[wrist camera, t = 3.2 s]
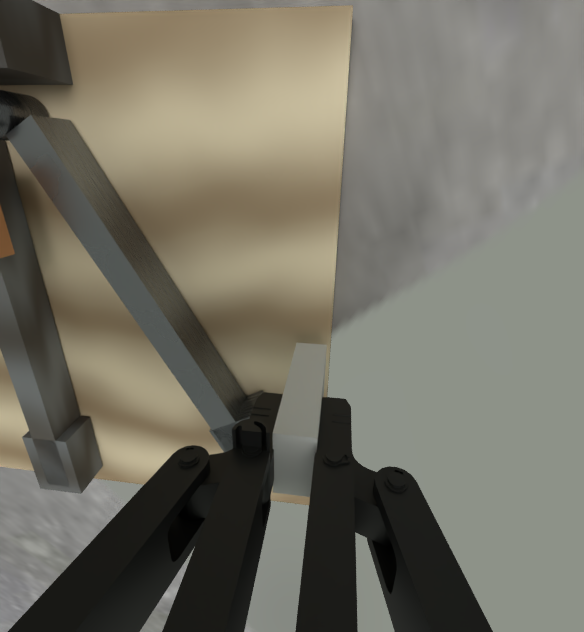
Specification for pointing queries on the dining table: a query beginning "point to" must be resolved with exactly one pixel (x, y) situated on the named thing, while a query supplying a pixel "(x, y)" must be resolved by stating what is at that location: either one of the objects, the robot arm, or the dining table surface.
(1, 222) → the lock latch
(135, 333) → the tongs board
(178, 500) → the robot arm
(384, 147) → the dining table surface
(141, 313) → the upper tong arm
